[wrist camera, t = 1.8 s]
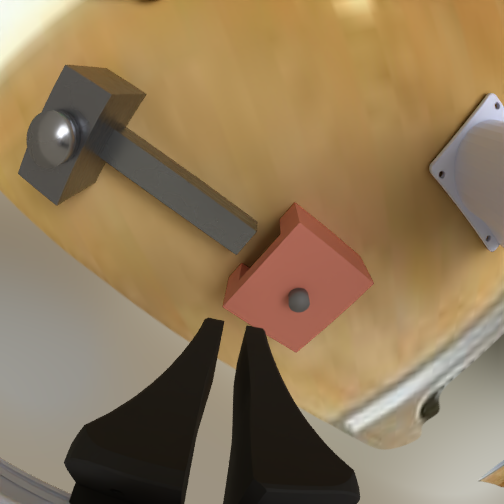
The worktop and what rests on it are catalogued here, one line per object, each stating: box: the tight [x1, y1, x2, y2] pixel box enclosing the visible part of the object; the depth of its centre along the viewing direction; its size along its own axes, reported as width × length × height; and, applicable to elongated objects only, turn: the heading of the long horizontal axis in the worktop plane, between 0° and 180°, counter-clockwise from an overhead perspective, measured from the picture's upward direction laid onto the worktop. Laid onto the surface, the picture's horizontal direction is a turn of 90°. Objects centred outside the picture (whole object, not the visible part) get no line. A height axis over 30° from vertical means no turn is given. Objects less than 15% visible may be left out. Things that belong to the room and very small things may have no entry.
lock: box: [223, 203, 374, 352], centre depth 20 cm, size 6×7×4 cm
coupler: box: [18, 65, 257, 255], centre depth 17 cm, size 14×7×6 cm, turn 52°
